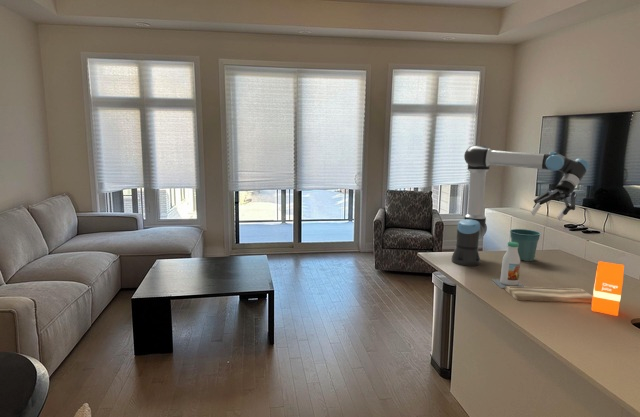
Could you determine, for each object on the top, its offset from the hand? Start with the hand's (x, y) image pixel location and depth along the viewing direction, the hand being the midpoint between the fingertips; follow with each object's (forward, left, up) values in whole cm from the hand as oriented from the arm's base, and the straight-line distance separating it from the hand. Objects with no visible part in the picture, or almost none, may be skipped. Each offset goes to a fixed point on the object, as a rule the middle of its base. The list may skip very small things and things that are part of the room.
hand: (545, 216), depth 205 cm
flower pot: (-37, +9, -32) cm, 50 cm away
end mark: (+11, -19, -32) cm, 38 cm away
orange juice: (+39, +8, -32) cm, 51 cm away
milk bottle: (+11, -19, -31) cm, 38 cm away
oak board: (+25, -7, -32) cm, 41 cm away
